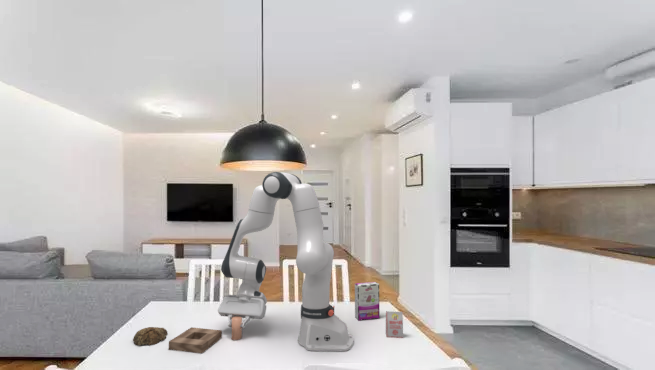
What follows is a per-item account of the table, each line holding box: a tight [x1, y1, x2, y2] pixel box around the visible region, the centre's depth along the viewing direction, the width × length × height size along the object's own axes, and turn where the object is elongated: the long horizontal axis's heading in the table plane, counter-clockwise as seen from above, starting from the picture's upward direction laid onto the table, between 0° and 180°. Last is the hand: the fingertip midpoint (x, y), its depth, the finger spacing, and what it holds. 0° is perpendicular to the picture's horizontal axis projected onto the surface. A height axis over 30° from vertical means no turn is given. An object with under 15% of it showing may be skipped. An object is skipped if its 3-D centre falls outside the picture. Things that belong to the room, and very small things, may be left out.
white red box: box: [385, 310, 404, 339], centre depth 140 cm, size 4×7×10 cm, turn 86°
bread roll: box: [132, 326, 169, 347], centre depth 135 cm, size 13×12×5 cm
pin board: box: [168, 326, 223, 354], centre depth 131 cm, size 14×14×3 cm
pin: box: [231, 316, 243, 341], centre depth 136 cm, size 4×4×8 cm
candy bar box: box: [354, 281, 381, 322], centre depth 161 cm, size 11×5×16 cm, turn 106°
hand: (236, 327), depth 136 cm, fingers closed on pin, 4 cm apart
